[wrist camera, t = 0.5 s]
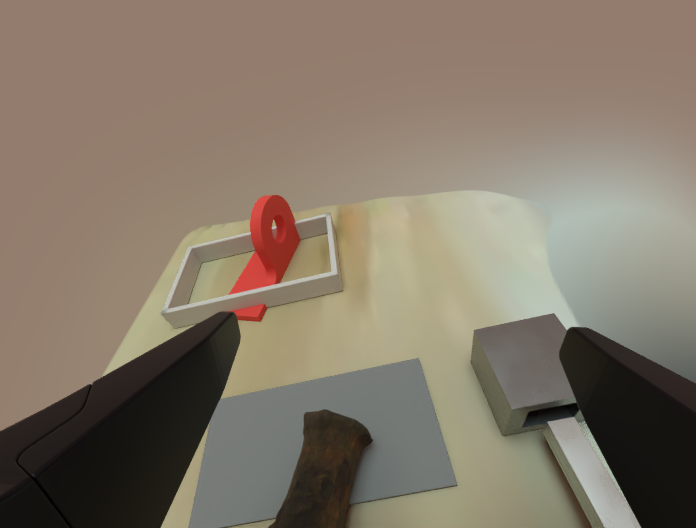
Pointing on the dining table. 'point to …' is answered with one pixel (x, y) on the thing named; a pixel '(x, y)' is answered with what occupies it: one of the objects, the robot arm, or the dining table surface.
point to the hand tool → (323, 472)
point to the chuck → (524, 373)
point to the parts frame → (273, 295)
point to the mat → (287, 439)
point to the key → (588, 476)
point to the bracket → (267, 251)
